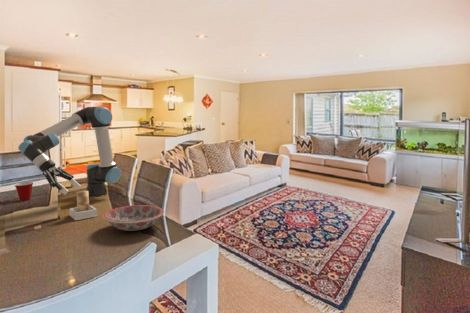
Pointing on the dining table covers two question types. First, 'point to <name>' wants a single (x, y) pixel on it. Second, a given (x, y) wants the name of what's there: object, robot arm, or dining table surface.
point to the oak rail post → (82, 201)
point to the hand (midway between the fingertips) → (73, 190)
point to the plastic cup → (24, 190)
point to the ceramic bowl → (133, 217)
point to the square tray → (83, 213)
